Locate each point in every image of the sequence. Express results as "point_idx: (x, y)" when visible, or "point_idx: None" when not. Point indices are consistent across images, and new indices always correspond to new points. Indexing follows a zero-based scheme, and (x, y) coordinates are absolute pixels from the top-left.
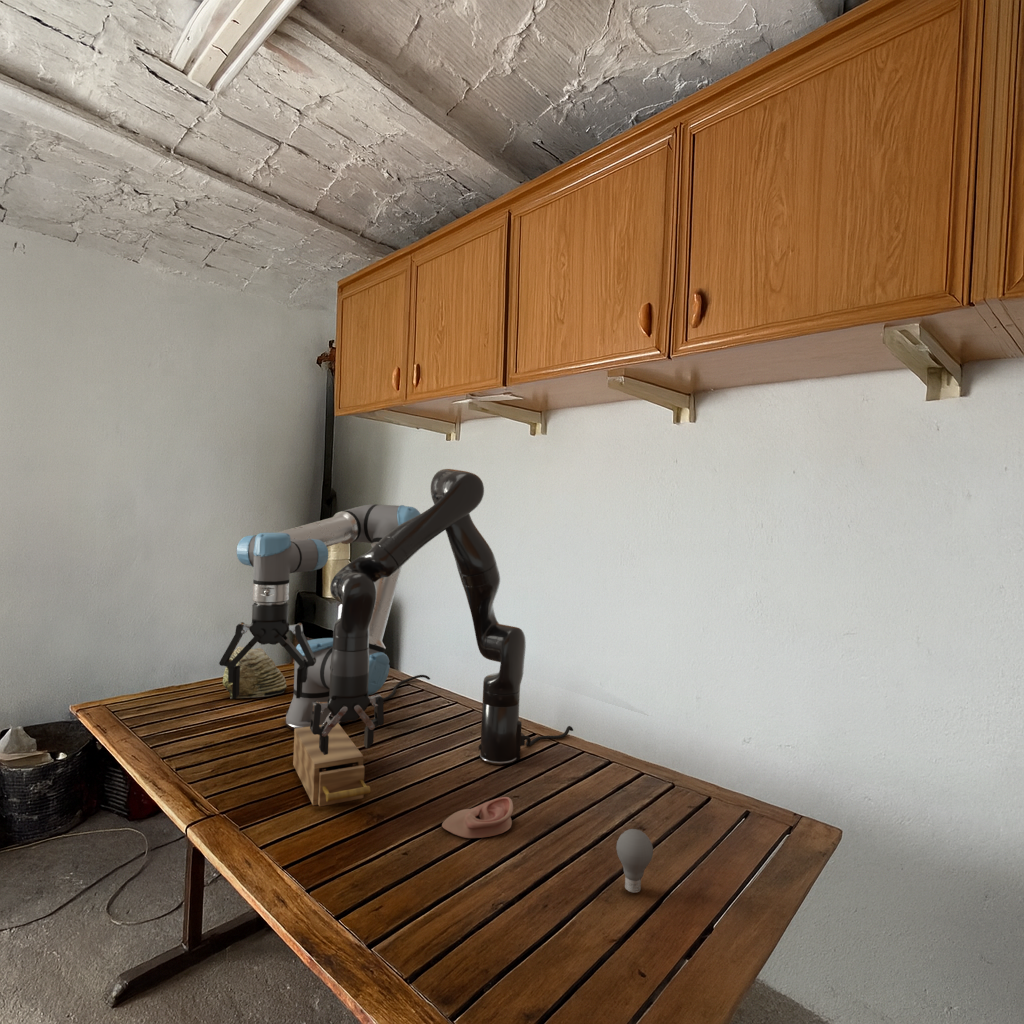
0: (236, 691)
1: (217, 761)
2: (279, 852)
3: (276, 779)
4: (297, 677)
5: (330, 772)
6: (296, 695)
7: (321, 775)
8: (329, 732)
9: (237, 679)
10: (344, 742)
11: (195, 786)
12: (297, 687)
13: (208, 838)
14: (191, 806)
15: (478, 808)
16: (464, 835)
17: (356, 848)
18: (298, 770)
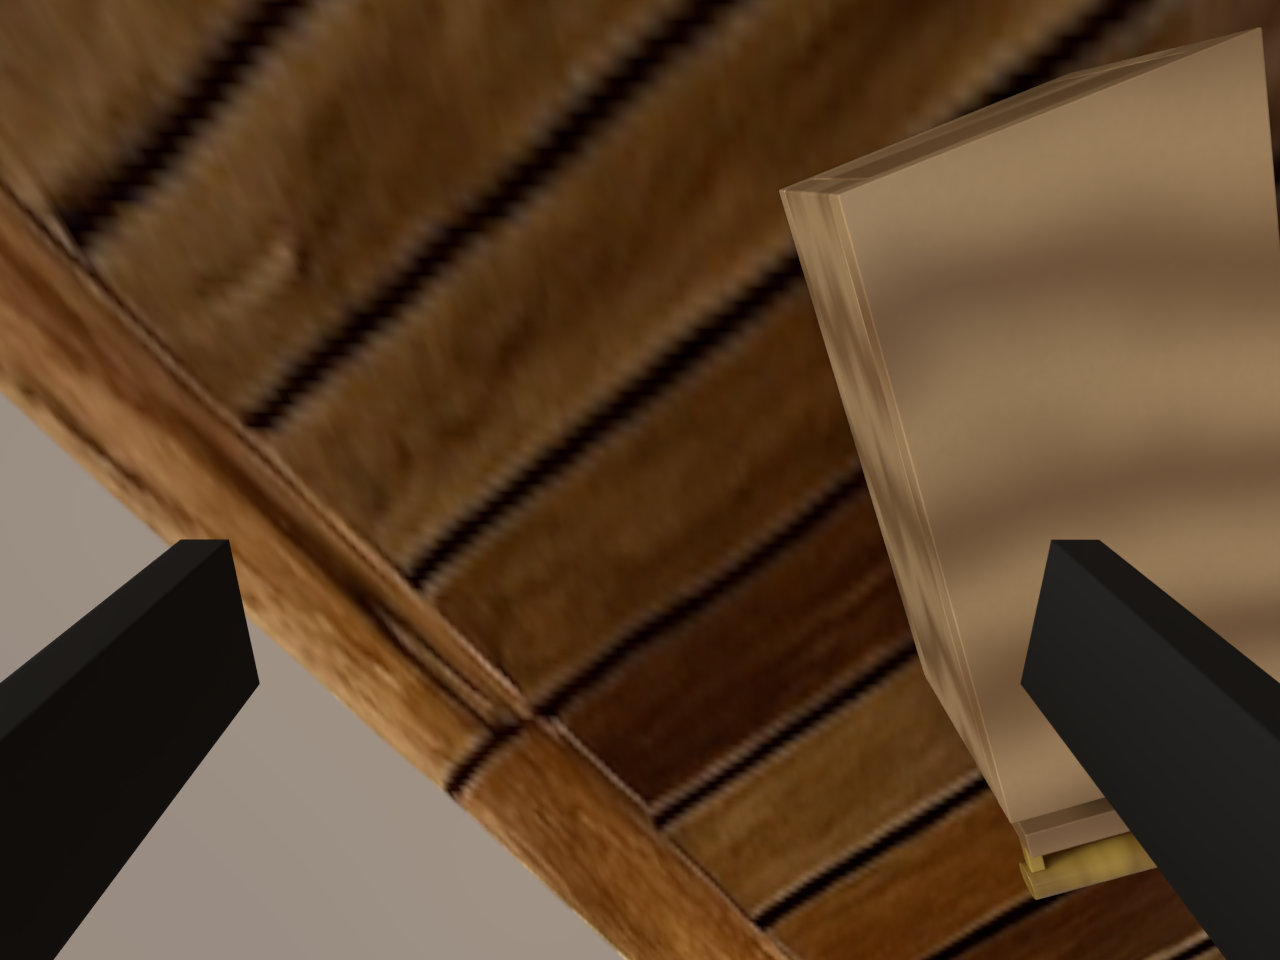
0: (211, 719)
1: (263, 106)
2: (824, 947)
3: (711, 399)
4: (1218, 934)
5: (1085, 840)
6: (1039, 705)
7: (1033, 854)
8: (1148, 308)
9: (90, 819)
10: (1239, 522)
11: (305, 465)
12: (1113, 792)
13: (560, 869)
14: (387, 656)
15: None
16: None
17: (1080, 941)
18: (835, 362)
